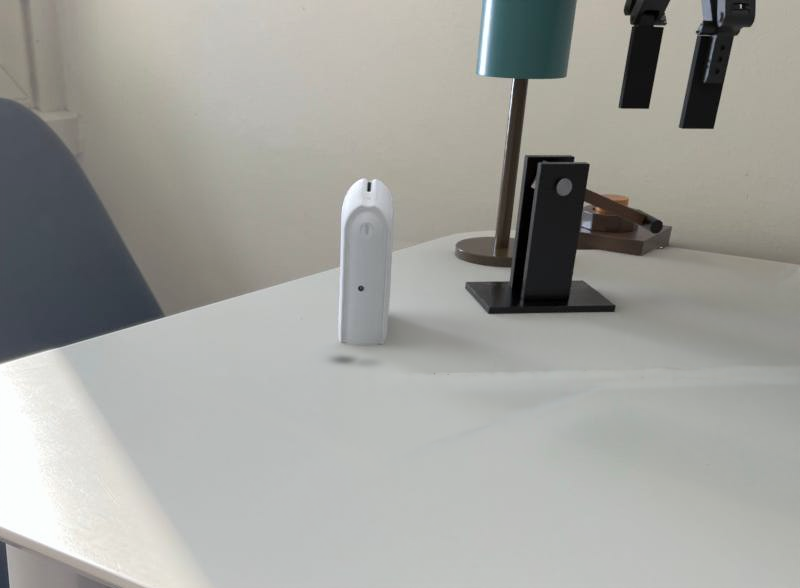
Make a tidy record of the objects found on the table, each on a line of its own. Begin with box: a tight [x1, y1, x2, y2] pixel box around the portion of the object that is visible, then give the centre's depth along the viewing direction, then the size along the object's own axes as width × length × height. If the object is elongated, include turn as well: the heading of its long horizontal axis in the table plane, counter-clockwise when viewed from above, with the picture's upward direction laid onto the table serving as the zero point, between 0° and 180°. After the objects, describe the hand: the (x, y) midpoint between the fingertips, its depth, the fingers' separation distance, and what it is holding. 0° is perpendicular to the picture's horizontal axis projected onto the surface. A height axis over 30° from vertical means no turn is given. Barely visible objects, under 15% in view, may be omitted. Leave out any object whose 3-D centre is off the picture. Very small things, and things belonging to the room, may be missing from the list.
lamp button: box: [595, 193, 630, 213], centre depth 114 cm, size 4×4×2 cm
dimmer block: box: [577, 204, 673, 257], centre depth 116 cm, size 12×10×4 cm
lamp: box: [454, 0, 578, 268], centre depth 103 cm, size 10×10×25 cm
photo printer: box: [337, 178, 395, 347], centre depth 83 cm, size 10×4×12 cm, turn 177°
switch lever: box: [531, 160, 664, 234], centre depth 90 cm, size 12×5×2 cm, turn 96°
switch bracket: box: [464, 154, 616, 315], centre depth 92 cm, size 12×9×13 cm
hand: (662, 118), depth 87 cm, fingers open, 13 cm apart
